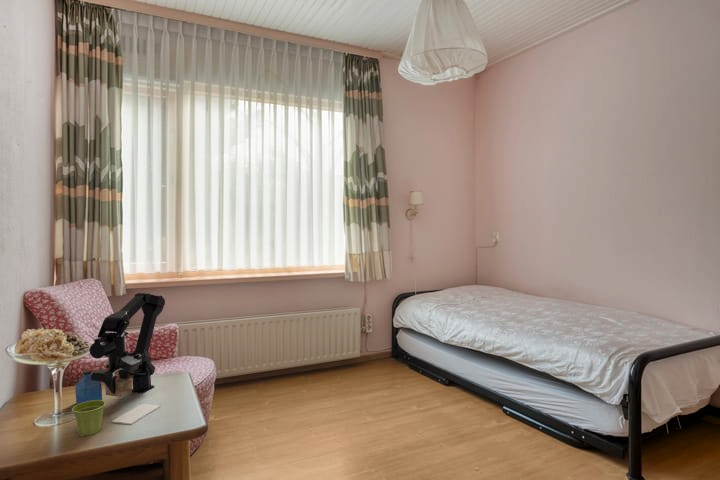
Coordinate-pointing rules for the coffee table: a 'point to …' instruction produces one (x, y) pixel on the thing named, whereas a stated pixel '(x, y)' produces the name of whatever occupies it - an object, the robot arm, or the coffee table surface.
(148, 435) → the coffee table surface
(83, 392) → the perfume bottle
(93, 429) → the plant pot
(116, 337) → the robot arm
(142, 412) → the placemat
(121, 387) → the walnut block
